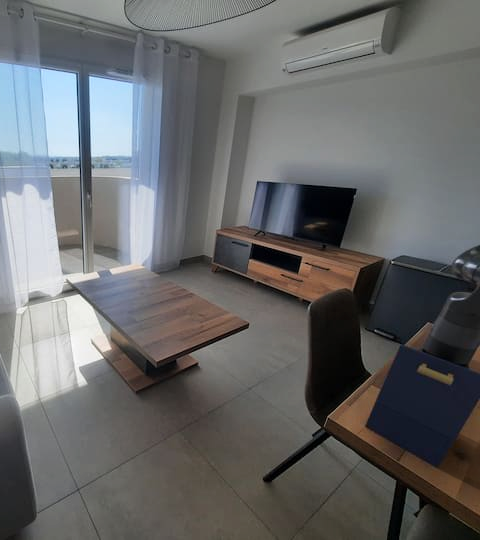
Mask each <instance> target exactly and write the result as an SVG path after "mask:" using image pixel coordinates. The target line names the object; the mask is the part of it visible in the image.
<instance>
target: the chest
mask: <svg viewBox="0 0 480 540" xmlns="http://www.w3.org/2000/svg"><path fill="white" fill-rule="evenodd" d="M364 427H365V428H367V429H368V430H370V431H371V432H373V433H375V434H377V435H378V436H381V437H382V438H384V439H386V440H387V441H389V442H391V443H393V444H394V445H396V446H397V447H399V448H401V449H404V450H405V451H407V452H408V453H410V454H412V455H414V456H415V457H417V458H419V459H421V460H422V461H424V462H426V463H427V464H429V465H431V466H432V467H434V468H436V469H439V467H440V465H442V463H443V461H444V459H445V457H446V456H447V454H448V452H449V450H451V448H452V446H453V444H454V442H455V441H454V440H452V439H450V438H448V437H446V436H444V435H442V434H440V433H439V432H437V431H435V430H433V429H431V428H429V427H427V426H425V425H423V424H421V423H419V422H417V421H415V420H413V419H411V418H409V417H407V416H405V415H403V414H401V413H399V412H397V411H395V410H393V409H391V408H389V407H387V406H385V405H383V404H381V403H379V402H377V401H376V400H375V402H374V404H373V407H372V409H371V411H370V413H369V415H368V418H367V420H366V422H365V425H364Z"/></svg>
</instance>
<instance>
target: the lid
mask: <svg viewBox="0 0 480 540" xmlns="http://www.w3.org/2000/svg"><path fill="white" fill-rule="evenodd" d="M376 401H377V402H379V403H381V404H383V405H385V406H387V407H389V408H391V409H393V410H395V411H397V412H399V413H401V414H403V415H405V416H407V417H409V418H411V419H413V420H415V421H417V422H419V423H421V424H423V425H425V426H427V427H429V428H431V429H433V430H435V431H437V432H439V433H440V434H442V435H444V436H446V437H448V438H450V439H452V440H454V442H455V441H456V439H457V438H458V437H459V435H460V433H461V431H462V430H463V428H464V426H465V424H466V423H467V421H468V420H469V418H470V416H471V415H472V413H473V411H474V409H475V408H476V406H477V404H478V403H479V401H480V372H477V371H475V370H473V369H470V368H469V369H467V368H465V367H462V366H459V365H456V364H454V363H451V362H448V361H446V360H443V359H440V358H438V357H435V356H432V355H429V354H427V353H424V352H421V351H419V349H416V348H414V347H410V346H407V345H405V344H402V343H400V345H399V347H398V349H397V352H396V354H395V356H394V359H393V361H392V364H391V365H390V368H389V370H388V372H387V374H386V377H385V379H384V381H383V383H382V386H381V388H380V390H379V392H378V395H377V396H376V400H375V402H376Z"/></svg>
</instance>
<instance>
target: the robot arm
mask: <svg viewBox="0 0 480 540" xmlns="http://www.w3.org/2000/svg"><path fill="white" fill-rule="evenodd" d="M450 270H451V273H452V275H454V277H456V278H458V279H459V280H461V281H464V282H466V283H469V284H471V285H473V286H476V287H475V289H474V290H473V291H472V292H467V291H457V292H452V293H451V294H449V296H448V297H447V299H446V300H445V302H444V304H443V307H442V309H441V311H440V313H439V314H438V316H437V317H436V319H435V321H434V322H433V324H432V326H430V327H431V328H430V329H429V333H428V334H427V337H426V338H425V341H424V344H423V345H422V347H421V348H420V349H418V350H419V351H421V352H424V353H427V354H429V355H432V356H435V357H438V358H440V359H443V360H446V361H448V362H451V363H454V364H456V365H459V366H462V367H465V368H467V369H470V366H469V365H470V363H471V361H472V359H473V358H474V356H475V354H476V353H477V351H478V349H479V347H480V244H478V245H476V246H473V247H470V248H469V249H466V250H465V251H463V252H461V253H460V254H459V255H458V256H457V257H455V259H454V260H453V261H452V263H451V266H450Z"/></svg>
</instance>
